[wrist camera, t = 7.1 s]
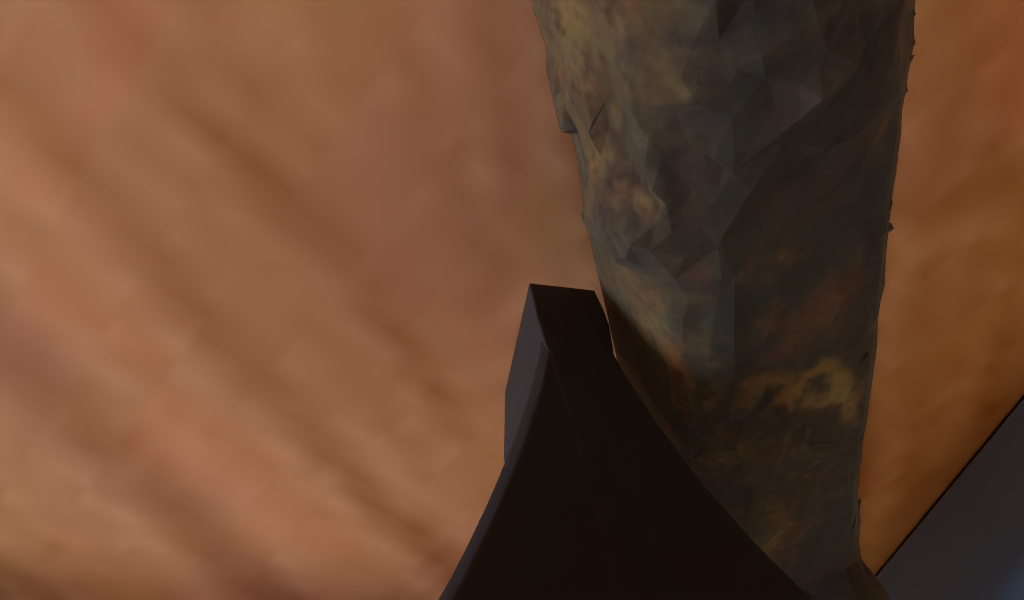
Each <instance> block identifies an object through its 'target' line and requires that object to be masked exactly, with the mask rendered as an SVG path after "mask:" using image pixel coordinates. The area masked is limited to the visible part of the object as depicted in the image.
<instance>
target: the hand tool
mask: <svg viewBox="0 0 1024 600" xmlns="http://www.w3.org/2000/svg"><path fill="white" fill-rule="evenodd" d="M532 5H533V10H534V13H535V15H536V18H537V21H538V24H539V27H540V30H541V33H542V36H543V39H544V41H545V44H546V52H547V75H548V79H549V83H550V87H551V92H552V96H553V100H554V104H555V109H556V113H557V117H558V121H559V125H560V128H561V131H562V132H563V133H572V136H573V140H574V144H575V148H576V154H577V160H578V167H579V173H580V179H581V186H582V195H583V205H584V209H583V212H582V218H583V222H584V224H585V226H586V228H587V230H588V233H589V237H590V241H591V245H592V249H593V254H594V258H595V263H596V267H597V271H598V276H599V280H600V284H601V289H602V293H603V297H604V302H605V306H606V310H607V315H608V319H609V324H610V328H611V333H612V338H613V342H614V347H615V352H616V356H617V361H618V363H619V365H620V366H621V368H622V370H623V371H624V373H625V374H626V376H627V378H628V379H629V381H630V382H631V384H632V385H633V387H634V388H635V390H636V391H637V393H638V394H639V396H640V397H641V399H642V400H643V402H644V403H645V405H646V407H647V408H648V410H649V411H650V413H651V414H652V415H653V417H654V418H655V420H656V421H657V423H658V424H659V425H660V427H661V428H662V430H663V431H664V433H665V434H666V435H667V437H668V438H669V439H670V441H671V442H672V443H673V445H674V446H675V447H676V449H677V450H678V451H679V453H680V454H681V456H682V457H683V458H684V460H685V461H686V462H687V464H688V465H689V466H690V467H691V469H692V470H693V471H694V472H695V474H696V475H697V476H698V478H699V479H700V480H701V481H702V483H703V484H704V485H705V486H706V487H707V489H708V490H709V491H710V492H711V494H712V495H713V496H714V497H715V498H716V499H717V501H718V502H719V503H720V504H721V505H722V506H723V508H724V509H725V510H726V511H727V512H728V513H729V514H730V516H731V517H732V518H733V519H734V520H735V521H736V522H737V524H738V525H739V526H740V527H741V528H742V529H743V530H744V531H745V532H746V534H747V535H748V536H749V537H750V538H751V539H752V540H753V541H754V542H755V543H756V544H757V545H758V546H759V547H760V548H761V549H762V550H763V552H764V553H765V554H766V555H767V556H768V557H769V558H770V559H771V560H772V561H773V562H774V563H775V564H776V565H777V566H779V567H780V568H781V569H782V570H783V571H784V572H785V573H786V574H787V575H788V576H789V577H790V578H791V579H792V580H793V581H794V582H795V583H796V584H797V585H798V586H799V587H800V588H801V589H802V590H803V591H804V592H805V593H806V594H807V595H808V596H809V597H810V598H811V599H812V600H890V599H889V597H888V594H887V592H886V590H885V588H884V587H883V585H882V584H881V583H880V582H879V581H878V579H877V578H876V577H875V576H874V574H873V573H872V572H871V571H870V570H869V568H868V567H867V566H866V565H865V563H864V562H863V561H862V559H861V555H860V548H859V533H860V522H861V519H860V501H861V499H860V500H858V485H859V467H860V463H861V460H862V447H863V439H864V433H865V427H866V423H867V414H868V407H869V401H870V393H871V386H872V378H873V371H874V363H875V356H876V349H877V326H878V315H879V307H880V301H881V297H882V293H883V289H884V285H885V262H886V249H887V239H888V232H890V231H891V230H893V229H894V228H893V226H892V224H891V223H889V220H890V215H891V214H890V211H891V207H892V195H893V188H894V182H895V176H896V170H897V168H896V166H897V161H898V152H899V144H900V137H901V118H902V106H903V102H904V97H905V93H906V92H908V89H907V77H908V72H909V67H910V62H911V60H912V59H913V57H914V56H915V55H912V52H913V46H914V44H915V39H914V15H916V14H915V0H532Z"/></svg>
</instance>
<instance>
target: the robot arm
mask: <svg viewBox="0 0 1024 600" xmlns="http://www.w3.org/2000/svg"><path fill="white" fill-rule="evenodd" d="M504 461H505V464H504V467H503V469H502V472H501V474H500V477H499V479H498V481H497V484H496V486H495V488H494V490H493V493H492V495H491V497H490V500H489V502H488V504H487V506H486V508H485V511H484V513H483V515H482V517H481V519H480V521H479V523H478V525H477V527H476V529H475V531H474V534H473V536H472V538H471V540H470V542H469V544H468V546H467V548H466V550H465V552H464V554H463V556H462V558H461V560H460V562H459V564H458V566H457V568H456V569H455V571H454V573H453V575H452V577H451V579H450V581H449V582H448V584H447V586H446V588H445V590H444V591H443V593H442V595H441V597H440V598H439V600H812V599H811V598H810V597H809V596H808V595H807V594H806V593H805V592H804V591H803V590H802V589H801V588H800V587H799V586H798V585H797V584H796V583H795V582H794V581H793V580H792V579H791V578H790V577H789V576H788V575H787V574H786V573H785V572H784V571H783V570H782V569H781V568H780V567H779V566H777V565H776V564H775V563H774V562H773V561H772V560H771V559H770V558H769V557H768V556H767V555H766V554H765V553H764V552H763V550H762V549H761V548H760V547H759V546H758V545H757V544H756V543H755V542H754V541H753V540H752V539H751V538H750V537H749V536H748V535H747V534H746V532H745V531H744V530H743V529H742V528H741V527H740V526H739V525H738V524H737V522H736V521H735V520H734V519H733V518H732V517H731V516H730V514H729V513H728V512H727V511H726V510H725V509H724V508H723V506H722V505H721V504H720V503H719V502H718V501H717V499H716V498H715V497H714V496H713V495H712V494H711V492H710V491H709V490H708V489H707V487H706V486H705V485H704V484H703V483H702V481H701V480H700V479H699V478H698V476H697V475H696V474H695V472H694V471H693V470H692V469H691V467H690V466H689V465H688V464H687V462H686V461H685V460H684V458H683V457H682V456H681V454H680V453H679V451H678V450H677V449H676V447H675V446H674V445H673V443H672V442H671V441H670V439H669V438H668V437H667V435H666V434H665V433H664V431H663V430H662V428H661V427H660V425H659V424H658V423H657V421H656V420H655V418H654V417H653V415H652V414H651V413H650V411H649V410H648V408H647V407H646V405H645V403H644V402H643V400H642V399H641V397H640V396H639V394H638V393H637V391H636V390H635V388H634V387H633V385H632V384H631V382H630V381H629V379H628V378H627V376H626V374H625V373H624V371H623V370H622V368H621V366H620V365H619V363H618V362H617V360H616V358H615V357H614V355H613V348H612V341H611V335H610V329H609V324H608V322H607V319H606V316H605V314H604V311H603V308H602V306H601V304H600V302H599V300H598V298H597V296H596V294H595V292H594V291H592V290H583V289H574V288H566V287H557V286H548V285H539V284H529V289H528V293H527V298H526V302H525V307H524V311H523V315H522V320H521V324H520V329H519V333H518V338H517V342H516V347H515V351H514V356H513V360H512V365H511V369H510V374H509V378H508V383H507V387H506V395H505V437H504Z"/></svg>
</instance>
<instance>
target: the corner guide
mask: <svg viewBox="0 0 1024 600" xmlns="http://www.w3.org/2000/svg"><path fill="white" fill-rule="evenodd" d="M876 578H877V579H878V581H879V582H880V583H881V584H882V585H883V587H884V588H885V590H886V592H887V594H888V597H889V599H890V600H1024V399H1023V400H1022V401H1021V402H1020V404H1019V405H1018V406H1017V407H1016V408H1015V410H1014V411H1013V412H1012V413H1011V414H1010V416H1009V417H1008V418H1007V419H1006V421H1005V422H1004V423H1003V424H1002V425H1001V427H1000V428H999V429H998V430H997V431H996V433H995V434H994V435H993V436H992V437H991V439H990V440H989V441H988V442H987V443H986V445H985V446H984V447H983V448H982V450H981V451H980V452H979V453H978V454H977V456H976V457H975V458H974V459H973V460H972V462H971V463H970V464H969V465H968V466H967V468H966V469H965V470H964V471H963V472H962V474H961V475H960V476H959V477H958V478H957V480H956V481H955V482H954V483H953V485H952V486H951V487H950V488H949V489H948V491H947V492H946V493H945V494H944V495H943V497H942V498H941V499H940V500H939V501H938V503H937V504H936V505H935V506H934V507H933V509H932V510H931V511H930V512H929V513H928V515H927V516H926V517H925V518H924V520H923V521H922V522H921V523H920V524H919V526H918V527H917V528H916V529H915V530H914V532H913V533H912V534H911V535H910V536H909V538H908V539H907V540H906V541H905V542H904V544H903V545H902V546H901V547H900V548H899V550H898V551H897V552H896V553H895V555H894V556H893V557H892V558H891V559H890V561H889V562H888V563H887V564H886V565H885V567H884V568H883V569H882V570H881V571H880V573H879V574H878V575H877V576H876Z"/></svg>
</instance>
